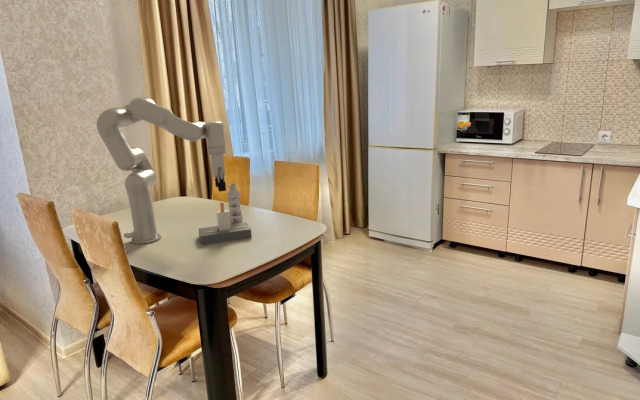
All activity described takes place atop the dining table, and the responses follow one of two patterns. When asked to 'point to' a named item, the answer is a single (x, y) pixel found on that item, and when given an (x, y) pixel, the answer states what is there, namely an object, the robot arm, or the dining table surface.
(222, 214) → the plug
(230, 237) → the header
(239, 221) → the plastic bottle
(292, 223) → the dining table surface
